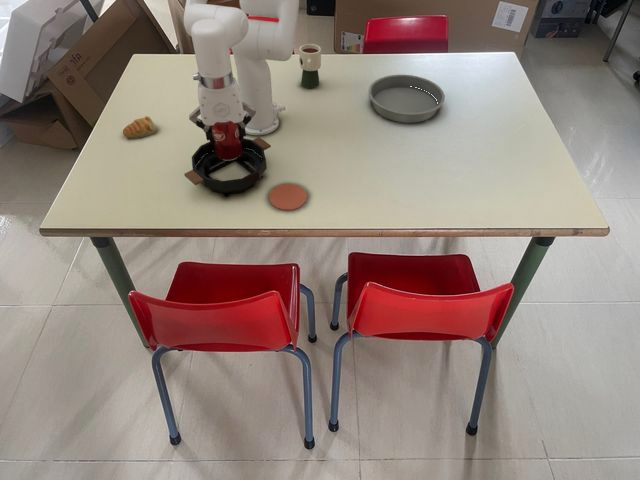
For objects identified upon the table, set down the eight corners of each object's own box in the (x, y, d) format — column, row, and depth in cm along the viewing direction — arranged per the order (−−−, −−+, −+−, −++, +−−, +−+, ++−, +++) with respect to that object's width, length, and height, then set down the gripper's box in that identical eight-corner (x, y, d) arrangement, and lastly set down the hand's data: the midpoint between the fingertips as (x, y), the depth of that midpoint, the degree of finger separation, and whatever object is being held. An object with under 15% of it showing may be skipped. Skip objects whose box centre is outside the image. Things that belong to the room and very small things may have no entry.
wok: (246, 143, 141) (244, 125, 136) (287, 174, 131) (287, 156, 127) (174, 178, 129) (169, 160, 125) (214, 215, 120) (210, 196, 115)
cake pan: (453, 99, 159) (456, 87, 156) (423, 135, 145) (426, 122, 142) (388, 78, 168) (389, 66, 165) (353, 110, 154) (354, 97, 150)
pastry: (129, 143, 140) (125, 132, 137) (120, 132, 143) (116, 122, 140) (159, 132, 144) (156, 121, 141) (149, 122, 147) (146, 111, 145)
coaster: (290, 180, 130) (290, 178, 129) (314, 198, 125) (314, 197, 124) (261, 196, 125) (261, 195, 125) (285, 216, 120) (285, 214, 120)
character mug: (301, 76, 168) (300, 40, 158) (321, 77, 168) (322, 41, 158) (298, 92, 161) (297, 55, 151) (319, 93, 160) (319, 57, 151)
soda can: (220, 164, 122) (213, 126, 113) (211, 149, 127) (203, 110, 117) (247, 156, 125) (241, 118, 116) (237, 141, 129) (231, 103, 120)
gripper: (177, 89, 105) (193, 152, 119) (255, 82, 108) (262, 145, 121) (178, 72, 110) (192, 134, 124) (252, 65, 113) (259, 127, 126)
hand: (226, 139), depth 122 cm, fingers closed on soda can, 7 cm apart
